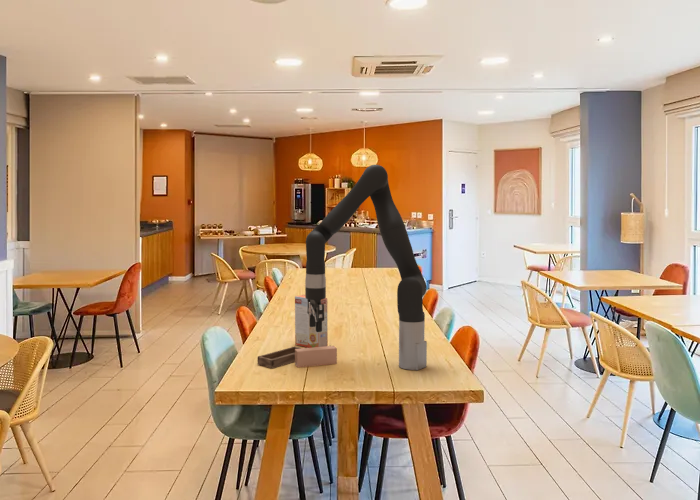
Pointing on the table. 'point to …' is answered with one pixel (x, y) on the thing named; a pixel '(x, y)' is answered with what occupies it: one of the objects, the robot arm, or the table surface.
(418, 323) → the robot arm
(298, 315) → the cracker box
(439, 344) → the table surface
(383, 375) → the table surface
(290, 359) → the tray
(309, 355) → the clay strip
